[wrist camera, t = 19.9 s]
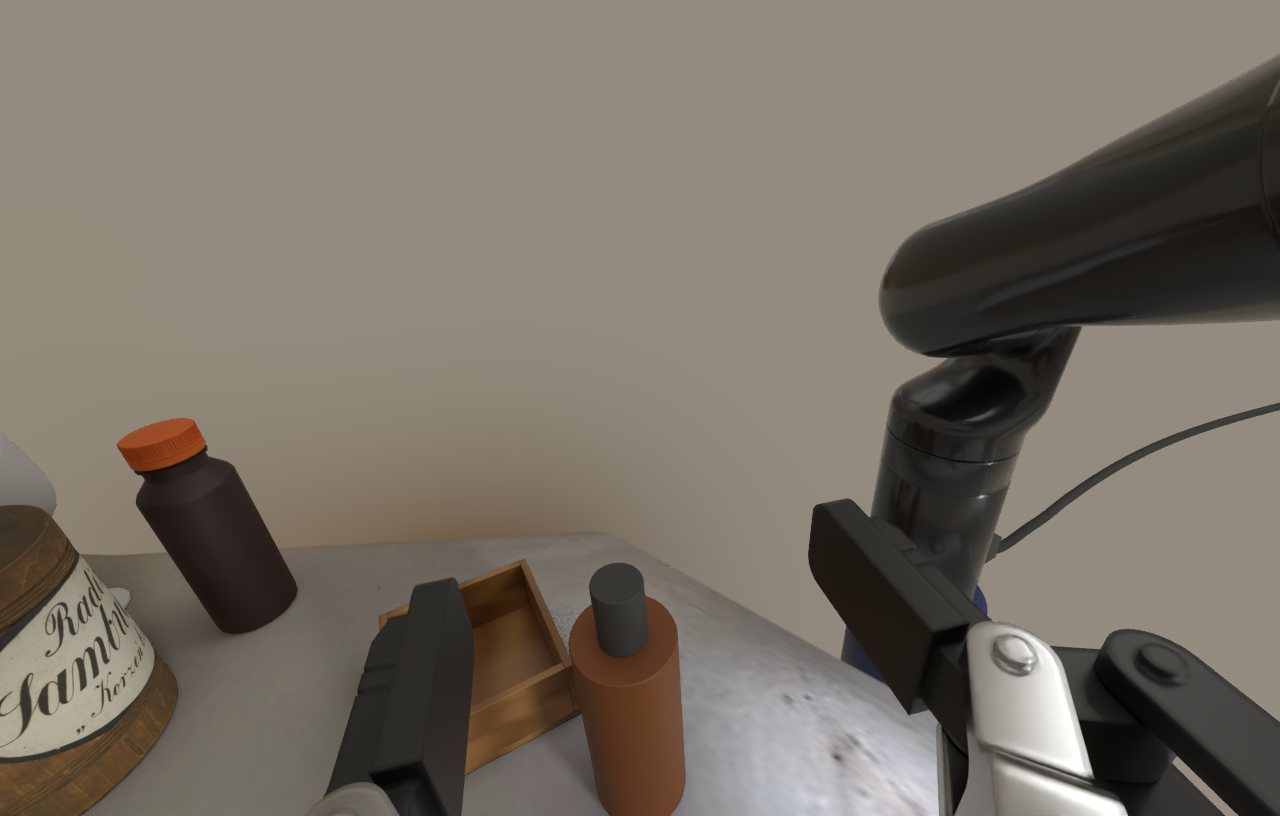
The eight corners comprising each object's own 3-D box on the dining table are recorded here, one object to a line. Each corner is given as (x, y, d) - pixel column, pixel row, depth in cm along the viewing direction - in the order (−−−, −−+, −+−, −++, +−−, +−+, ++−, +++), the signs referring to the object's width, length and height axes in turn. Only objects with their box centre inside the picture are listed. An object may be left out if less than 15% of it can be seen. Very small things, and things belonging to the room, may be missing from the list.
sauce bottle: (657, 715, 38) (640, 528, 30) (702, 794, 33) (697, 598, 25) (583, 757, 36) (542, 567, 27) (620, 850, 31) (583, 653, 22)
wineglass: (18, 666, 46) (-169, 475, 36) (40, 613, 51) (-117, 435, 42) (127, 621, 50) (-16, 438, 40) (137, 576, 55) (14, 405, 46)
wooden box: (535, 602, 48) (525, 557, 46) (582, 712, 38) (572, 664, 36) (398, 660, 44) (378, 615, 41) (412, 803, 34) (387, 755, 31)
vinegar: (203, 643, 47) (76, 461, 38) (238, 588, 53) (136, 419, 43) (283, 626, 48) (179, 445, 39) (308, 574, 54) (223, 407, 45)
